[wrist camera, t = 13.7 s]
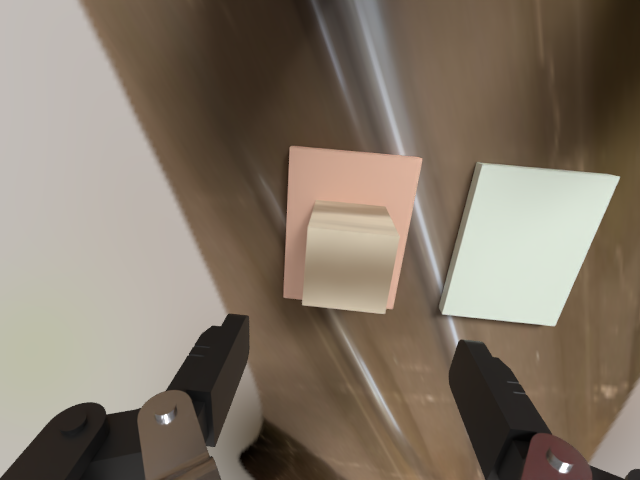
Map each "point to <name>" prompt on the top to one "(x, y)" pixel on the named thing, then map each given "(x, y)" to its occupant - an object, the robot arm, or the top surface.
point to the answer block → (349, 257)
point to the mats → (465, 227)
